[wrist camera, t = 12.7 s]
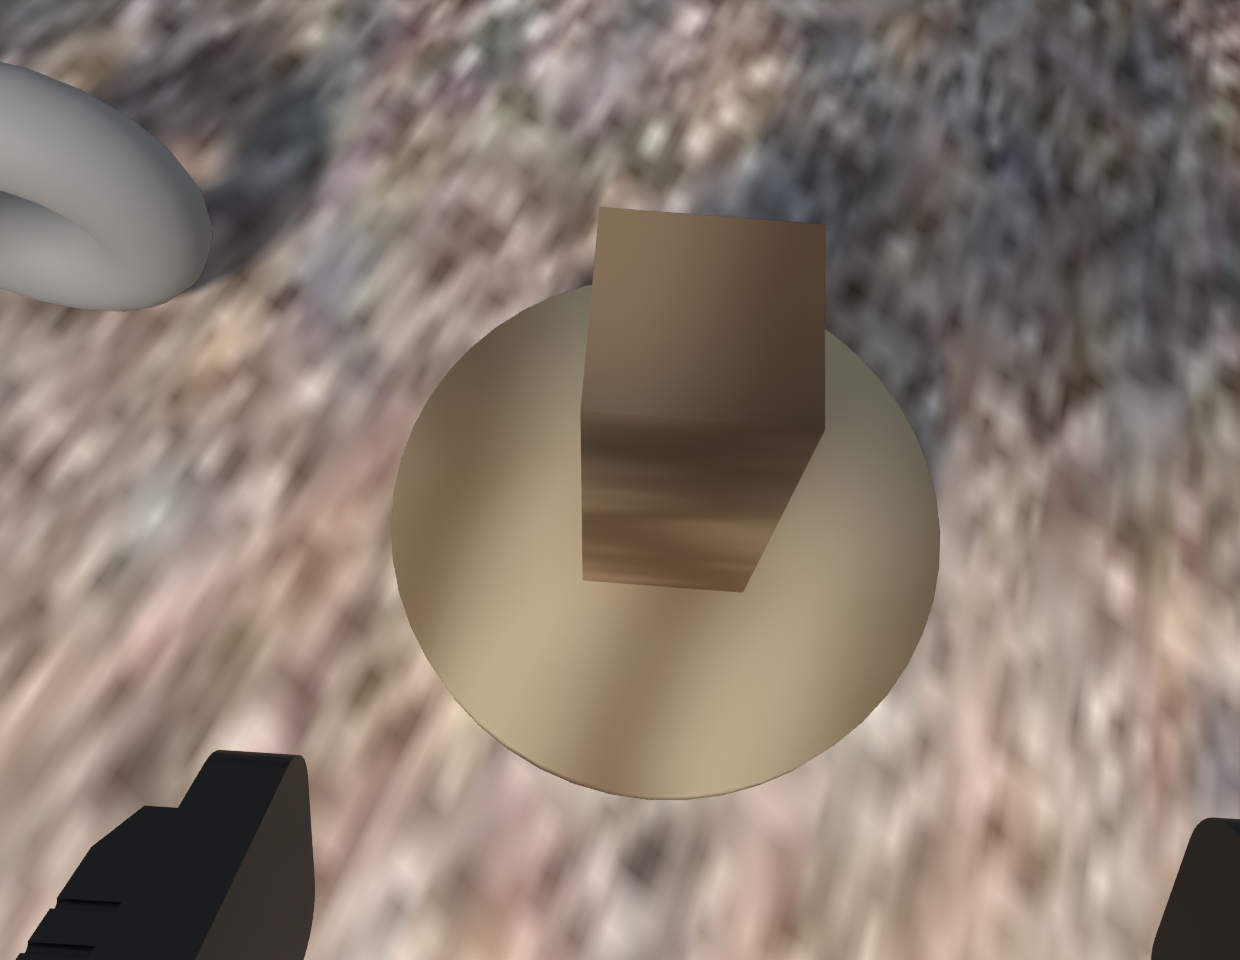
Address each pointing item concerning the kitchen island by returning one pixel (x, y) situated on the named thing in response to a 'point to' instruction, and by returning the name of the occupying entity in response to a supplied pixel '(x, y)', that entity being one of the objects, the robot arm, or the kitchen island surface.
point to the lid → (668, 517)
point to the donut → (91, 202)
